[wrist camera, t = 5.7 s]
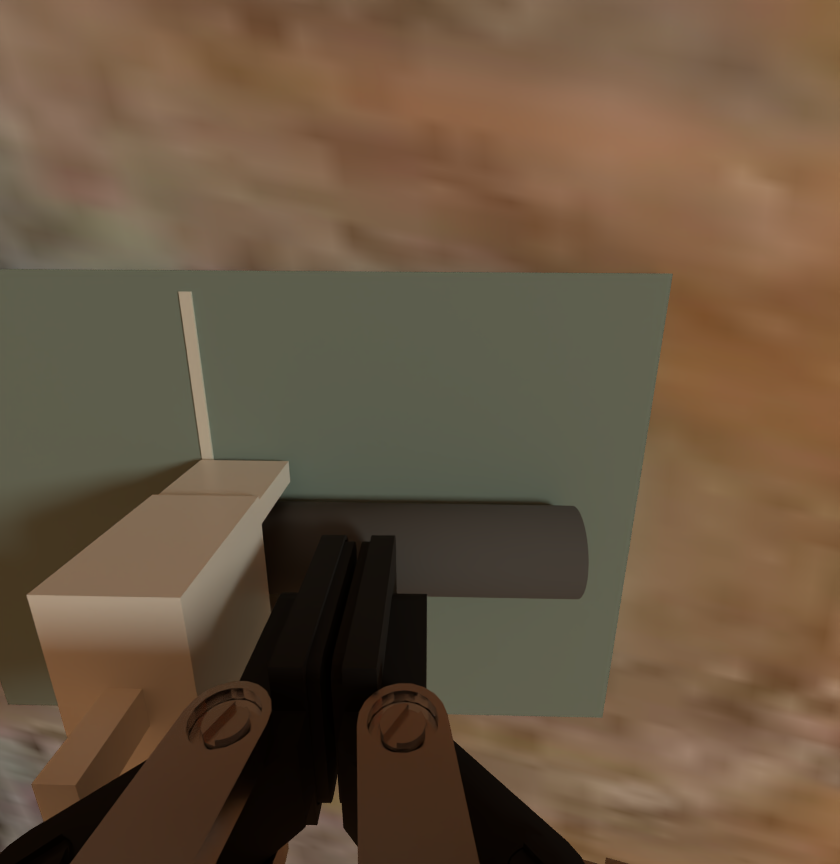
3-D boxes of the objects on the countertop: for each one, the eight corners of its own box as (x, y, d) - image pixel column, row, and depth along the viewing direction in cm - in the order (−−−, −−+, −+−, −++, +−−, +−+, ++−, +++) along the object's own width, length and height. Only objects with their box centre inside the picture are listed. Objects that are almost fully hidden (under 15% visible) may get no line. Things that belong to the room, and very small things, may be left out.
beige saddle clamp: (200, 456, 13) (-75, 676, 6) (288, 457, 13) (116, 681, 6) (219, 593, 15) (13, 907, 7) (299, 595, 15) (170, 911, 7)
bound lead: (212, 483, 14) (168, 527, 11) (565, 488, 14) (594, 533, 11) (223, 559, 15) (182, 615, 12) (557, 565, 14) (582, 623, 12)
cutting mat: (-102, 268, 13) (-138, 268, 12) (657, 273, 13) (674, 273, 12) (26, 685, 17) (6, 705, 16) (594, 697, 17) (603, 719, 16)
